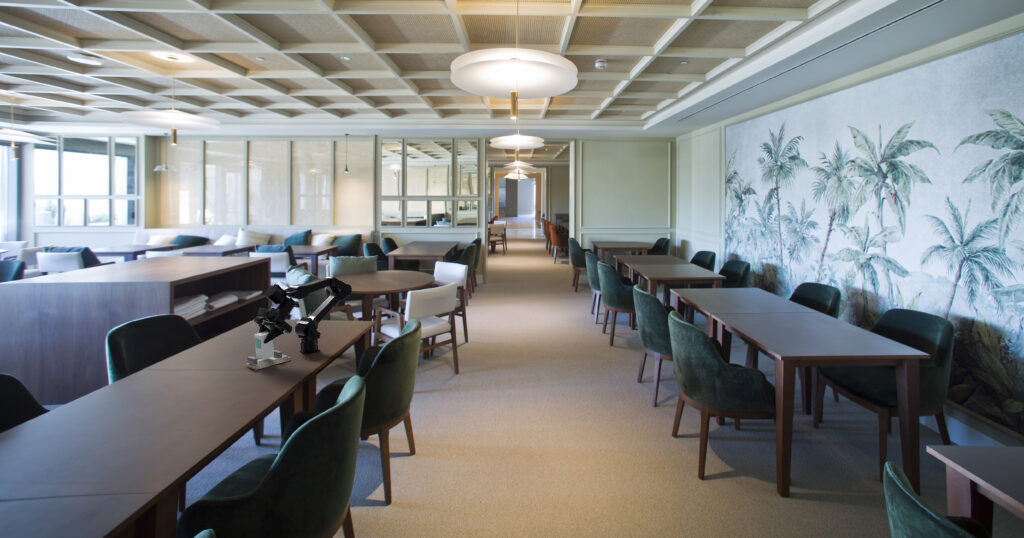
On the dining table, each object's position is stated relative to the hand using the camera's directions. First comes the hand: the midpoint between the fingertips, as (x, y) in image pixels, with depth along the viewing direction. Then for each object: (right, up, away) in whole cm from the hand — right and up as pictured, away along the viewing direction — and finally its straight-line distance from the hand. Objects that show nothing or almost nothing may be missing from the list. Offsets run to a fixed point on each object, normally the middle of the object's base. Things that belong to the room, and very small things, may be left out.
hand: (260, 342), depth 209 cm
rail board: (+1, -9, +4) cm, 10 cm away
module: (+1, -6, +2) cm, 7 cm away
